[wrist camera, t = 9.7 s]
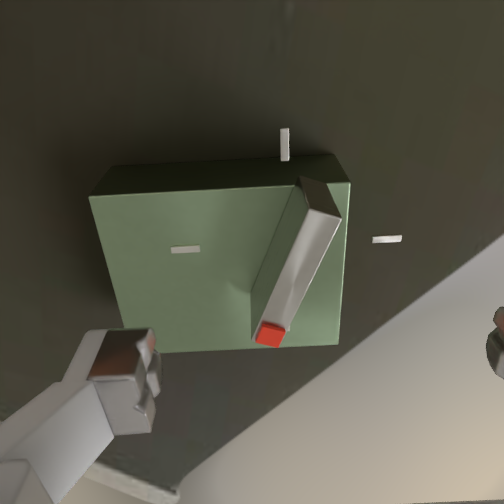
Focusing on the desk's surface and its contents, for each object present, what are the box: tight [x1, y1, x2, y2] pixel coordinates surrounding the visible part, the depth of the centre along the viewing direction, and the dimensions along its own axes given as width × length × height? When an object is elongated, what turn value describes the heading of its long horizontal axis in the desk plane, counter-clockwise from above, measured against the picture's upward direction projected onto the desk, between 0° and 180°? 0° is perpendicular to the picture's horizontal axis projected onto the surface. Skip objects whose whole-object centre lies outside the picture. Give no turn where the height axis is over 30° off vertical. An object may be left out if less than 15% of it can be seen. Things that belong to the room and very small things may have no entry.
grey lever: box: [250, 176, 342, 348], centre depth 19 cm, size 7×1×4 cm, turn 162°
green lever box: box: [88, 127, 402, 353], centre depth 22 cm, size 15×13×4 cm
